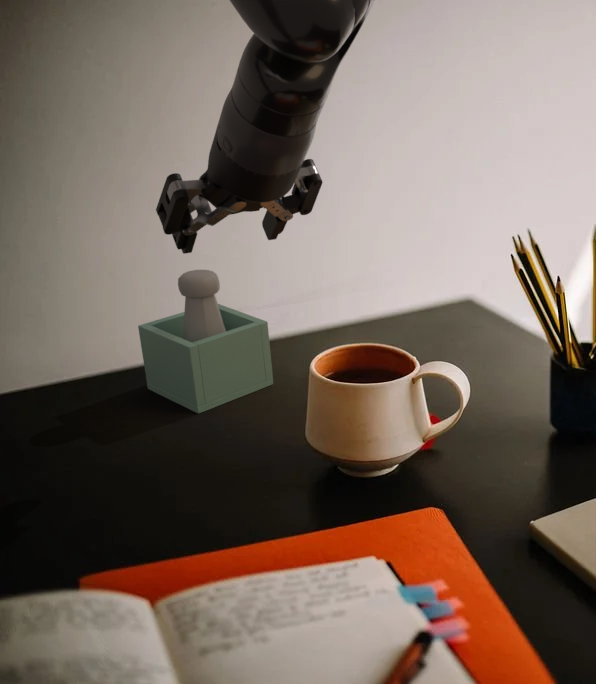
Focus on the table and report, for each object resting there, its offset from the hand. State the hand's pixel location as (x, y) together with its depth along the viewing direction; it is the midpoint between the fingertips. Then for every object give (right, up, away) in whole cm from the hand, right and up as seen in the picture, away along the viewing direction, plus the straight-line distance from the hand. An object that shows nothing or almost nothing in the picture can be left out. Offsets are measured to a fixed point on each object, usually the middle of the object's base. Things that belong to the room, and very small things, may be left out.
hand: (226, 238), depth 89 cm
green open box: (-7, -15, +15) cm, 23 cm away
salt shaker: (-7, -15, +15) cm, 22 cm away
